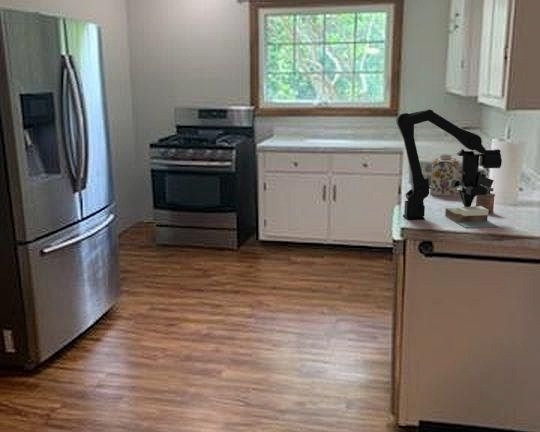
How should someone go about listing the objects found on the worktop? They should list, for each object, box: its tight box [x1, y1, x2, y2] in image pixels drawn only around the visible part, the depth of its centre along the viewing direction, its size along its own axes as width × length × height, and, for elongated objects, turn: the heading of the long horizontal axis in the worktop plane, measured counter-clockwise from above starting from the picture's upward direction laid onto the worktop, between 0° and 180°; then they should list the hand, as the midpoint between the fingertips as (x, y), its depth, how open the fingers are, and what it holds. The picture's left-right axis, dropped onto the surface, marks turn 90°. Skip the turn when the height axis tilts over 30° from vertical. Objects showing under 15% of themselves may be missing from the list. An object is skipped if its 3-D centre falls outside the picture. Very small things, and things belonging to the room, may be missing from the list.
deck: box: [444, 207, 489, 223], centre depth 218 cm, size 12×10×3 cm
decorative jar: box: [429, 153, 460, 197], centre depth 265 cm, size 12×12×18 cm
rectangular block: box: [456, 205, 489, 216], centre depth 213 cm, size 9×6×2 cm, turn 96°
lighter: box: [475, 186, 496, 215], centre depth 229 cm, size 8×3×10 cm, turn 31°
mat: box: [454, 220, 499, 229], centre depth 209 cm, size 12×9×1 cm
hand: (467, 209), depth 217 cm, fingers closed
